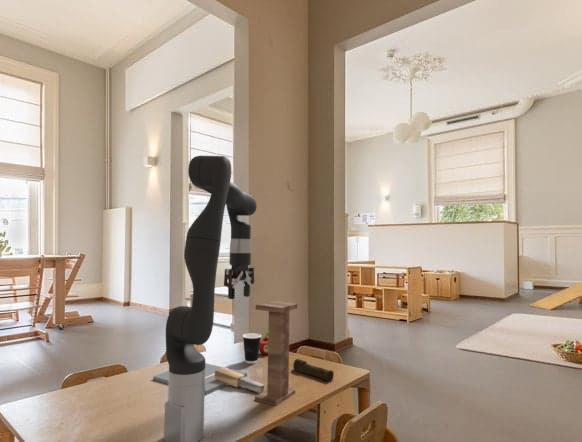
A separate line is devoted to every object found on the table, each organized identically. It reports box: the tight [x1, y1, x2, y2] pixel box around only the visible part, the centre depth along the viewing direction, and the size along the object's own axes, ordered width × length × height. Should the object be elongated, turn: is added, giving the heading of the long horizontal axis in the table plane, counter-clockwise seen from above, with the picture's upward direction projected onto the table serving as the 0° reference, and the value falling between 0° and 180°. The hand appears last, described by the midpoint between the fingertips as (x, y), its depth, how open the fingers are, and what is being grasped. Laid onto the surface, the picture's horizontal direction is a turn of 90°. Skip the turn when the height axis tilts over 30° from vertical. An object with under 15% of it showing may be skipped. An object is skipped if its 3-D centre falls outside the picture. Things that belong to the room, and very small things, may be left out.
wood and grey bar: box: [214, 366, 265, 394], centre depth 138 cm, size 4×19×3 cm, turn 61°
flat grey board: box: [152, 362, 248, 396], centre depth 147 cm, size 22×26×1 cm
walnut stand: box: [254, 300, 298, 406], centre depth 130 cm, size 12×10×30 cm
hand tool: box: [292, 358, 335, 383], centre depth 152 cm, size 19×4×5 cm, turn 44°
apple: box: [259, 330, 268, 355], centre depth 179 cm, size 8×7×10 cm
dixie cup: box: [242, 332, 262, 364], centre depth 167 cm, size 8×8×11 cm
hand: (239, 297), depth 140 cm, fingers open, 8 cm apart
